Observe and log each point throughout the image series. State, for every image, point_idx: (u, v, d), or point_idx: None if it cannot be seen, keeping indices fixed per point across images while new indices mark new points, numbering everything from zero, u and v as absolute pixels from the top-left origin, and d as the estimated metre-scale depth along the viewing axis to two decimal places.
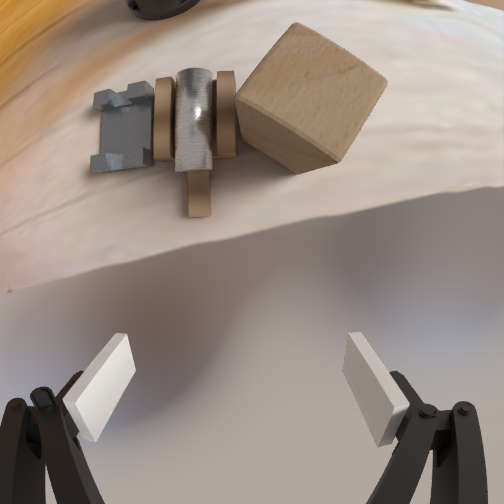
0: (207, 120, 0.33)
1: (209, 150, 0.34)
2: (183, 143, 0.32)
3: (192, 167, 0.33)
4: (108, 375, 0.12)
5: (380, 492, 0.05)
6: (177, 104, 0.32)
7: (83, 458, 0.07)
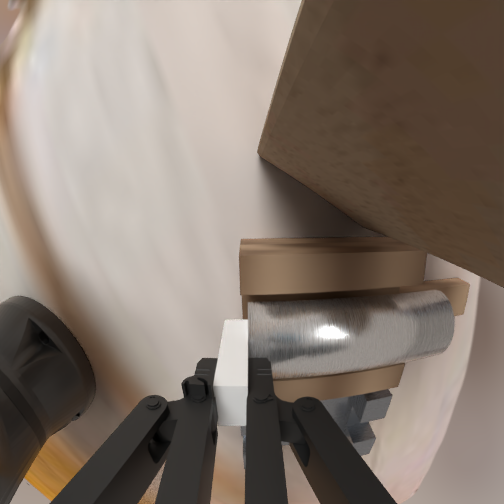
0: (376, 315, 0.15)
1: (425, 305, 0.16)
2: (412, 356, 0.15)
3: (451, 335, 0.15)
4: None
5: (249, 484, 0.06)
6: None
7: (213, 454, 0.09)
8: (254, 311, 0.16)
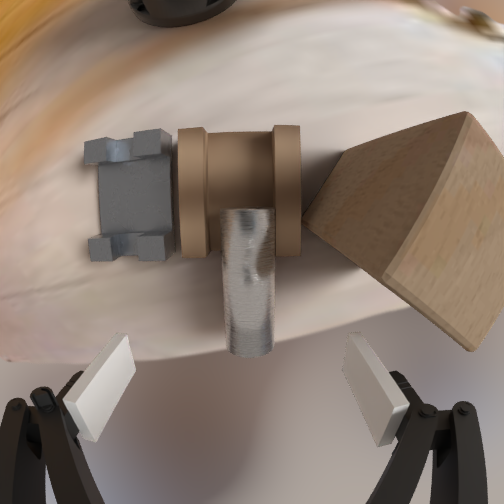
0: (274, 290, 0.26)
1: None
2: (246, 328, 0.25)
3: (259, 355, 0.26)
4: (108, 375, 0.12)
5: (380, 492, 0.05)
6: (232, 268, 0.24)
7: (83, 458, 0.07)
8: None
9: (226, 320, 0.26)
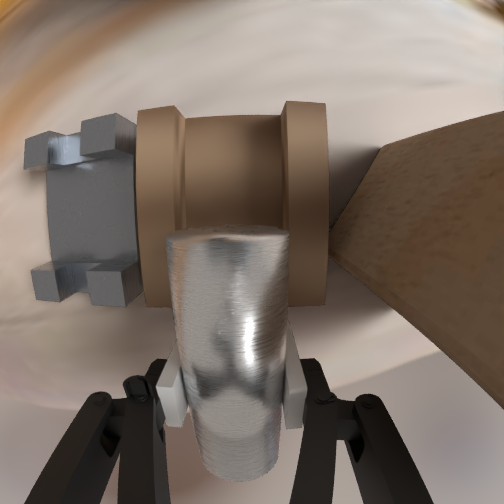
0: (280, 396, 0.12)
1: (278, 440, 0.13)
2: (223, 452, 0.11)
3: (248, 479, 0.12)
4: None
5: (298, 483, 0.06)
6: (189, 363, 0.11)
7: (164, 451, 0.09)
8: None
9: None
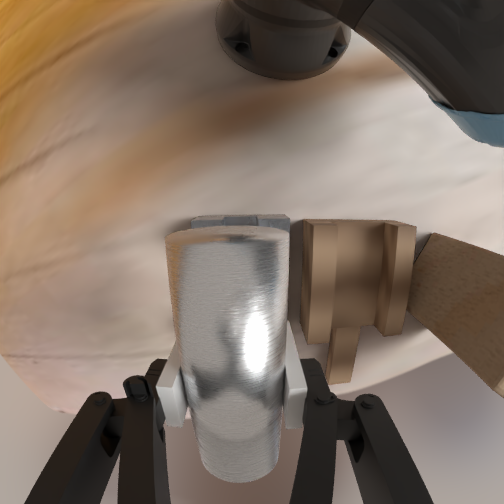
0: (280, 397, 0.12)
1: (278, 441, 0.13)
2: (223, 453, 0.11)
3: (248, 480, 0.12)
4: None
5: (298, 483, 0.06)
6: (189, 364, 0.11)
7: (164, 451, 0.09)
8: None
9: None
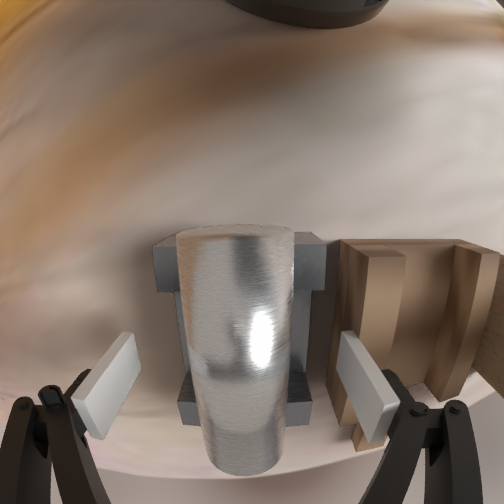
0: (285, 391, 0.12)
1: (283, 435, 0.14)
2: (229, 446, 0.12)
3: (253, 474, 0.13)
4: (115, 373, 0.12)
5: (373, 491, 0.05)
6: (197, 357, 0.11)
7: (90, 457, 0.08)
8: None
9: (200, 422, 0.13)
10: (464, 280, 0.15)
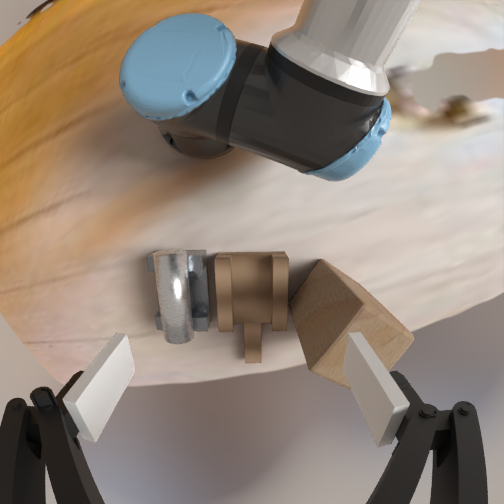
0: (186, 303, 0.41)
1: (190, 326, 0.42)
2: (169, 325, 0.40)
3: (179, 343, 0.41)
4: (108, 375, 0.12)
5: (380, 492, 0.05)
6: (159, 289, 0.39)
7: (83, 458, 0.07)
8: (185, 255, 0.40)
9: (161, 319, 0.42)
10: (272, 270, 0.43)
